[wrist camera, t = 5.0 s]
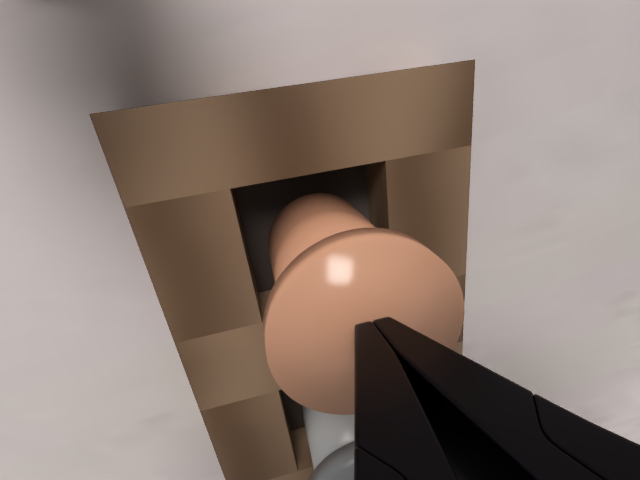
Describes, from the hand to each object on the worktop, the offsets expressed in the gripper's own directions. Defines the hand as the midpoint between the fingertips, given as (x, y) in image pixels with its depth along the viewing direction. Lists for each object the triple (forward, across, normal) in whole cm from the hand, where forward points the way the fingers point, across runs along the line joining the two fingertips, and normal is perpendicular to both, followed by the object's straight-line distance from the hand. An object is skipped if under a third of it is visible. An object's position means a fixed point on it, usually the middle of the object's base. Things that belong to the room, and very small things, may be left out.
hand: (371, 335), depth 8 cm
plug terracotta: (+6, 0, 0) cm, 6 cm away
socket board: (+8, 0, +4) cm, 9 cm away
